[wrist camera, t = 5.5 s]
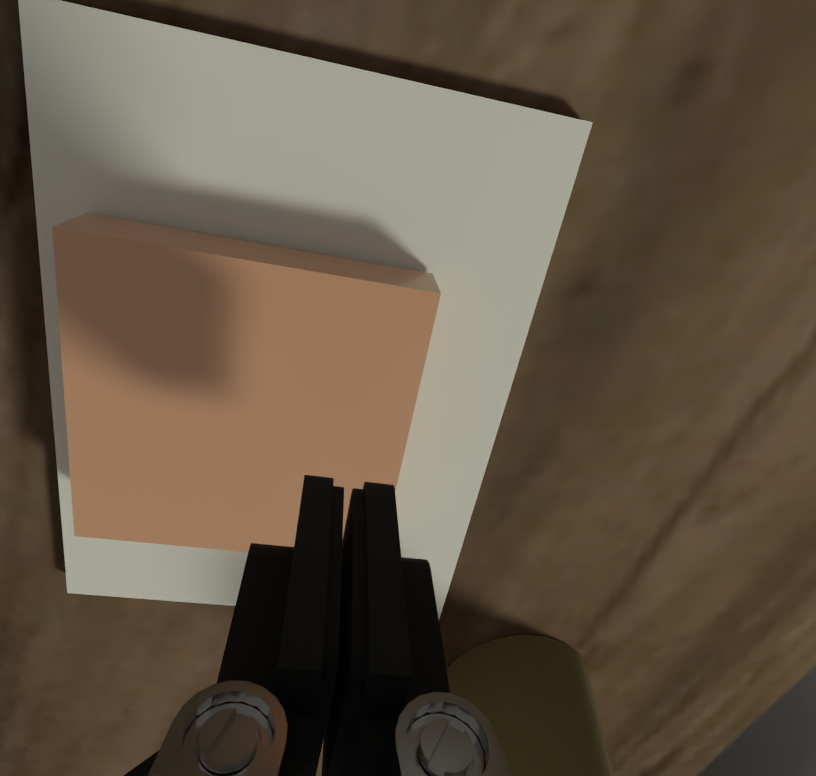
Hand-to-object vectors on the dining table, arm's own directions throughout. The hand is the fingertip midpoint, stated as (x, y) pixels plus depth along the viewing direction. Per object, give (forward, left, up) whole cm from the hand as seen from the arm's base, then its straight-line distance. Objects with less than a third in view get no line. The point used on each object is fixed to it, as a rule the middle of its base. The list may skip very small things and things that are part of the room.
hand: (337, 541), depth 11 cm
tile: (0, +2, -5) cm, 5 cm away
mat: (0, -1, -6) cm, 6 cm away
